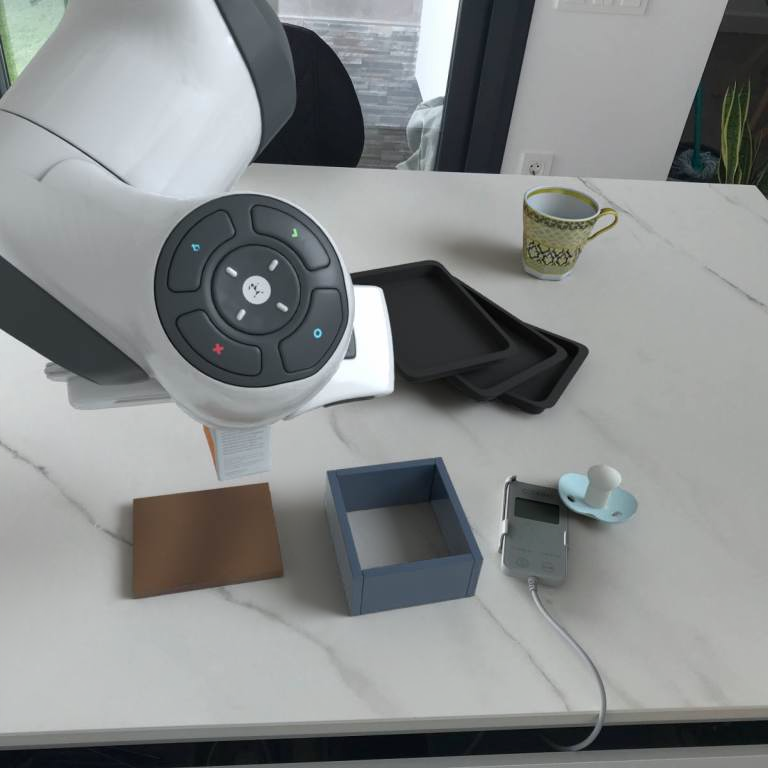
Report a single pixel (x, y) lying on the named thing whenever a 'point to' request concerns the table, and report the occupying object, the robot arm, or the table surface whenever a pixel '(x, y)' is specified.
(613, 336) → the table surface
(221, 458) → the cosmetic box
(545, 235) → the ceramic cup
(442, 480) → the holder
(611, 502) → the pacifier
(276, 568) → the coaster
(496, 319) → the tray
